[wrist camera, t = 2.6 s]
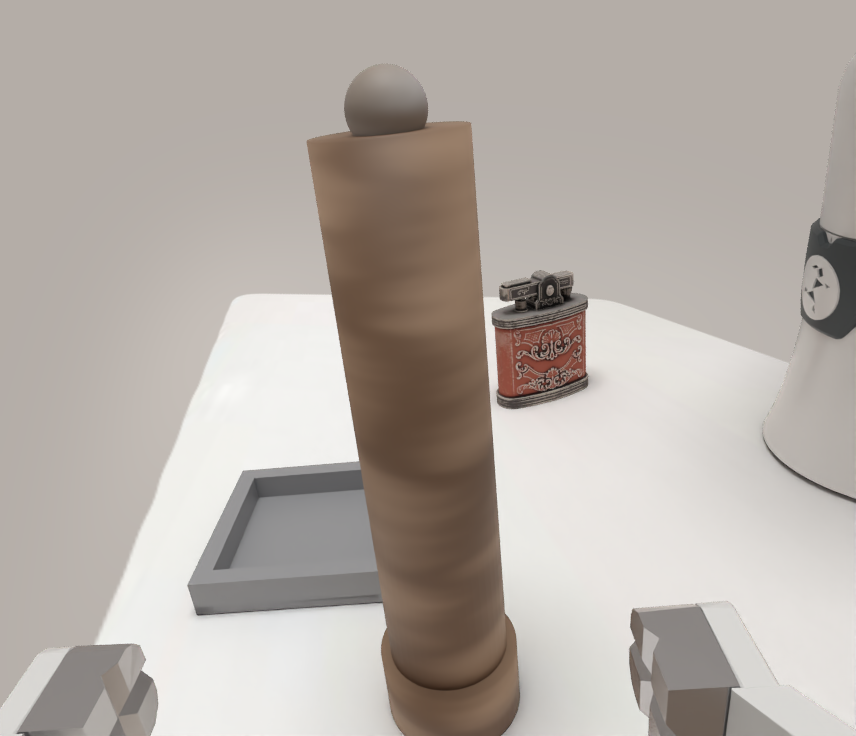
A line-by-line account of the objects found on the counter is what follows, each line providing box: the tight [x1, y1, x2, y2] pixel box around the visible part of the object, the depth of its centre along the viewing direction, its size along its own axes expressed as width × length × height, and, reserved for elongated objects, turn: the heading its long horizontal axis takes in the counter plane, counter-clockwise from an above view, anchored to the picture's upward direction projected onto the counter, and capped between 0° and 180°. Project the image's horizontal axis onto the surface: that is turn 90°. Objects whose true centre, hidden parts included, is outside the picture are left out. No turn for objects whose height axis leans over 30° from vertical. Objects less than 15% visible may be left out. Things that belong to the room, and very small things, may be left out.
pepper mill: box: [307, 64, 520, 736], centre depth 23 cm, size 6×6×25 cm
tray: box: [188, 461, 383, 615], centre depth 39 cm, size 11×11×2 cm
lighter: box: [492, 270, 588, 409], centre depth 52 cm, size 8×3×10 cm, turn 113°
